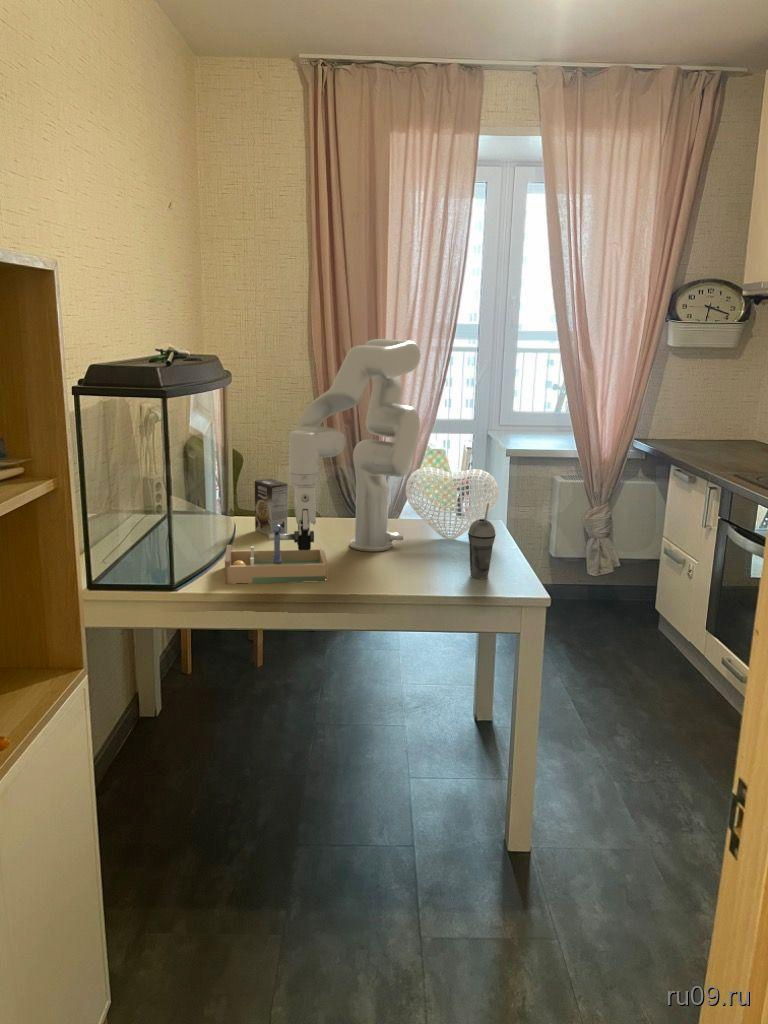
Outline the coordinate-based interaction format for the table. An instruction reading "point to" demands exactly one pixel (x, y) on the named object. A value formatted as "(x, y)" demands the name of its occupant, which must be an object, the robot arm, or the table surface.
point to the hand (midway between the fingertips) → (303, 546)
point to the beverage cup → (481, 546)
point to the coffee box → (270, 505)
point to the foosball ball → (238, 563)
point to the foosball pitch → (275, 566)
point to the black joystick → (278, 537)
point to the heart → (448, 474)
